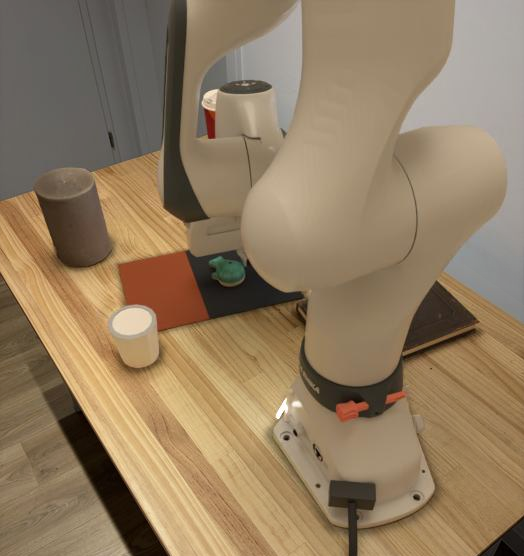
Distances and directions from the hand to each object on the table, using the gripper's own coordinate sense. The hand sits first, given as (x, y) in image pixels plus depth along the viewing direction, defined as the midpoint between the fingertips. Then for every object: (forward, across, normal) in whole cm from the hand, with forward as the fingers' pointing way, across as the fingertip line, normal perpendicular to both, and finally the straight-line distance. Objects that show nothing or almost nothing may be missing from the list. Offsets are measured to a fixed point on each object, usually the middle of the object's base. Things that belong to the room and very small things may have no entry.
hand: (250, 263), depth 94 cm
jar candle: (+2, -21, -13) cm, 25 cm away
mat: (+2, -8, 0) cm, 8 cm away
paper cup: (+2, +5, +37) cm, 37 cm away
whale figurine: (+2, -4, 0) cm, 5 cm away
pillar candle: (+2, -27, +15) cm, 31 cm away
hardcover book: (+2, +17, -18) cm, 25 cm away
